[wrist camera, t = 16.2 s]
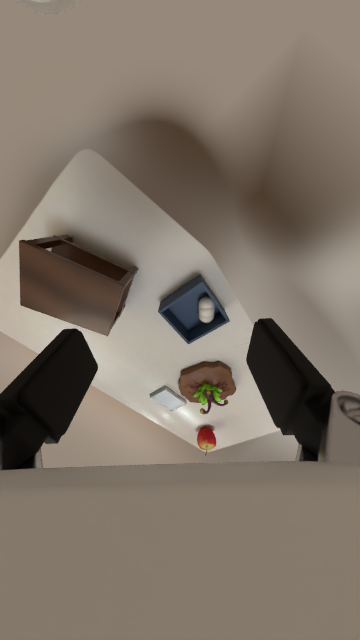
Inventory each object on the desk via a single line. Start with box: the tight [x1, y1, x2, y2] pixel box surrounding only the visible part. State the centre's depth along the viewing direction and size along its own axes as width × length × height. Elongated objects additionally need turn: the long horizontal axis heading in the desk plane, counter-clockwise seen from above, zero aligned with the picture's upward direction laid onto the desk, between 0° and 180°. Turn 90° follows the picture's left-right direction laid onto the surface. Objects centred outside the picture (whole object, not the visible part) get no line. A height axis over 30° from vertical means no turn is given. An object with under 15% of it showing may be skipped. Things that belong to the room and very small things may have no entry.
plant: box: [179, 361, 236, 414], centre depth 55 cm, size 20×20×11 cm
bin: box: [158, 274, 230, 344], centre depth 41 cm, size 12×12×6 cm
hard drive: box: [150, 386, 186, 411], centre depth 64 cm, size 2×8×12 cm
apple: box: [197, 427, 216, 453], centre depth 74 cm, size 8×8×10 cm
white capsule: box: [199, 296, 215, 323], centre depth 41 cm, size 7×4×4 cm
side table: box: [19, 234, 138, 336], centre depth 34 cm, size 12×16×12 cm
